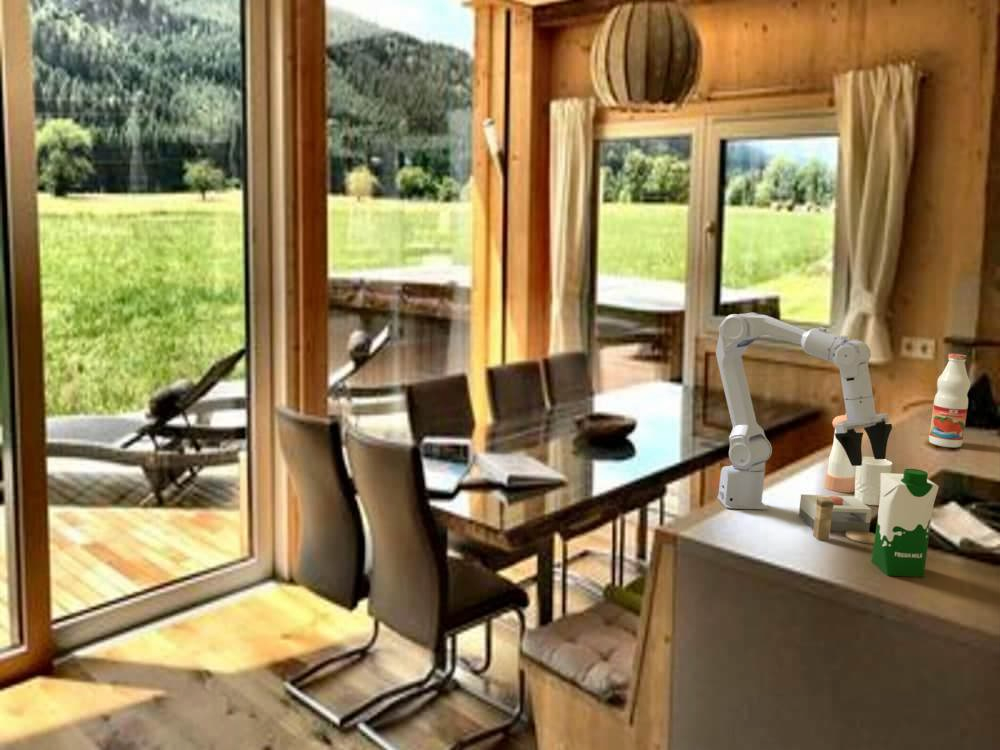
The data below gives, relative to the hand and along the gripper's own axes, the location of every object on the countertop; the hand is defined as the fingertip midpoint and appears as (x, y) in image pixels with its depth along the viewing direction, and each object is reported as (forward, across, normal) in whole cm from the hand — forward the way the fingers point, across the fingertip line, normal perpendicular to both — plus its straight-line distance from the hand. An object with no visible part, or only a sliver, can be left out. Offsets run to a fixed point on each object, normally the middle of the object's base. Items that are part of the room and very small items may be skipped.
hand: (868, 462), depth 189 cm
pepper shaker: (+11, +24, +29) cm, 39 cm away
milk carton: (+19, -11, -11) cm, 25 cm away
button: (+10, 0, +11) cm, 15 cm away
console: (+14, 0, +11) cm, 18 cm away
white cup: (+14, +22, +19) cm, 32 cm away
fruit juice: (+12, +98, +48) cm, 110 cm away
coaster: (+16, -2, +3) cm, 16 cm away
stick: (+14, -11, +6) cm, 19 cm away
